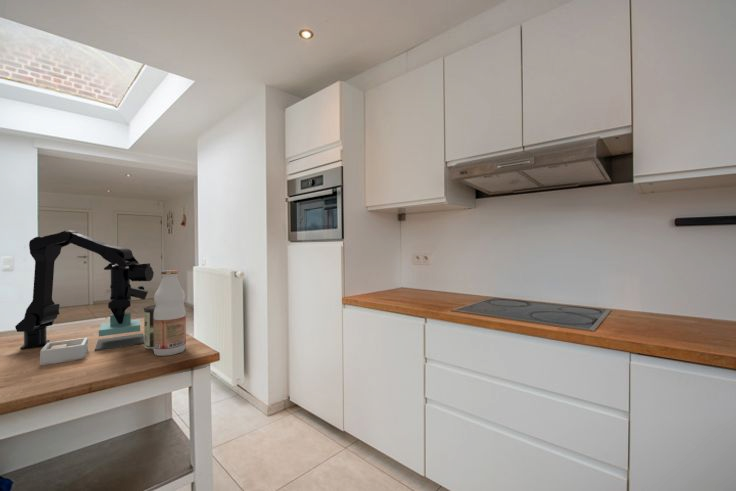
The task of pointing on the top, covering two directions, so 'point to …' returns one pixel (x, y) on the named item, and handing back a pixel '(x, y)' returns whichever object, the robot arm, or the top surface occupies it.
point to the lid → (119, 326)
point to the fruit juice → (169, 316)
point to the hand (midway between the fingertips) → (120, 322)
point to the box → (64, 351)
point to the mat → (119, 342)
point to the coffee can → (149, 327)
